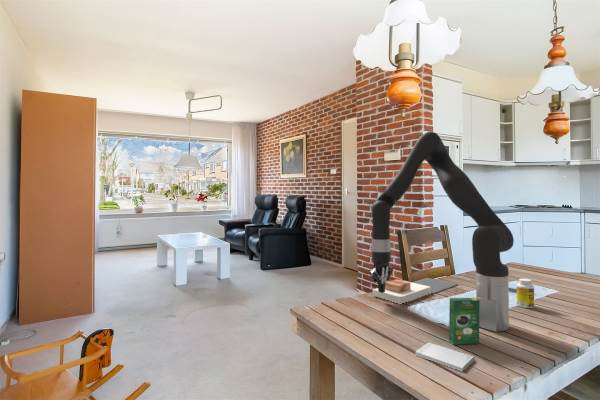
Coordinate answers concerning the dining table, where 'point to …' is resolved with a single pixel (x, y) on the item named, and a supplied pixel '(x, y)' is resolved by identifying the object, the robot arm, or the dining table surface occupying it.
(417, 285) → the block
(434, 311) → the dining table surface
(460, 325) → the coffee box
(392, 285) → the terracotta block
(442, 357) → the hard drive
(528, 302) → the supplement bottle
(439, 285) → the mat
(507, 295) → the robot arm
